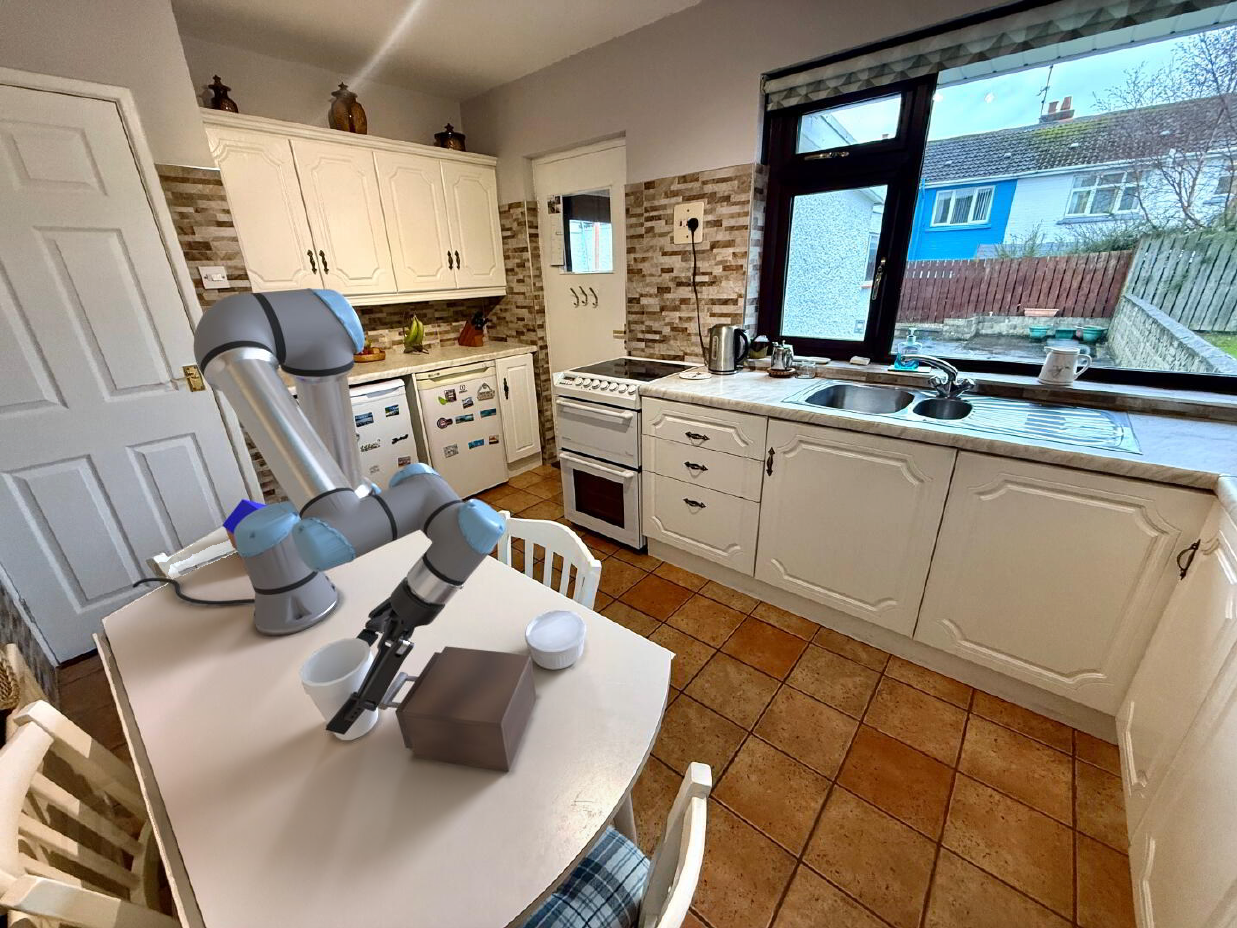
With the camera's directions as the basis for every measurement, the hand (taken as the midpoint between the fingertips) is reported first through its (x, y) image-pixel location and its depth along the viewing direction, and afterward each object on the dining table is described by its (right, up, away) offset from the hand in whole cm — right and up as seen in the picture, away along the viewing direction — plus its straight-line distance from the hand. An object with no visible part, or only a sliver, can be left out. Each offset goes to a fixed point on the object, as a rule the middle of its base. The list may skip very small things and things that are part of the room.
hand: (341, 693), depth 75 cm
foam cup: (+1, -6, +3) cm, 7 cm away
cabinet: (+21, -6, +2) cm, 22 cm away
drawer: (+16, -5, +2) cm, 17 cm away
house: (-47, +13, +52) cm, 71 cm away
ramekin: (+31, 0, +16) cm, 35 cm away
